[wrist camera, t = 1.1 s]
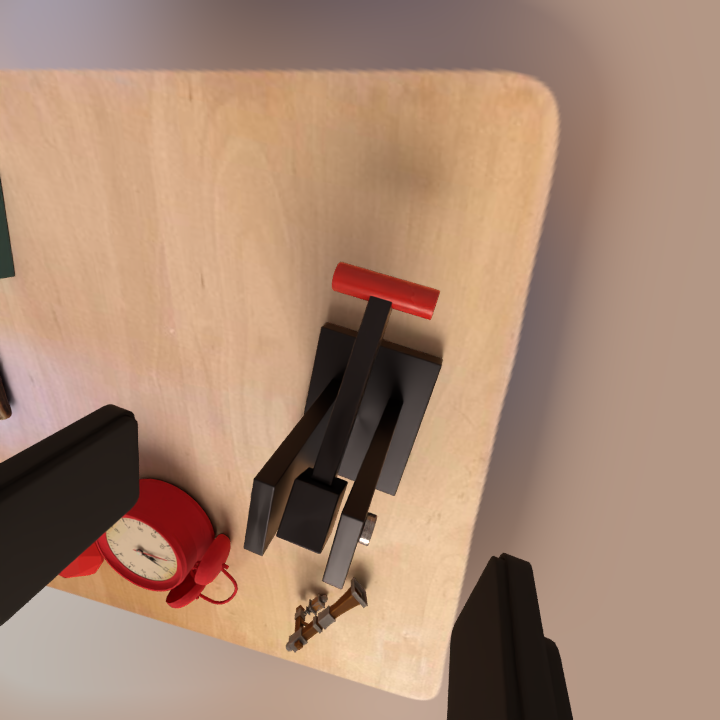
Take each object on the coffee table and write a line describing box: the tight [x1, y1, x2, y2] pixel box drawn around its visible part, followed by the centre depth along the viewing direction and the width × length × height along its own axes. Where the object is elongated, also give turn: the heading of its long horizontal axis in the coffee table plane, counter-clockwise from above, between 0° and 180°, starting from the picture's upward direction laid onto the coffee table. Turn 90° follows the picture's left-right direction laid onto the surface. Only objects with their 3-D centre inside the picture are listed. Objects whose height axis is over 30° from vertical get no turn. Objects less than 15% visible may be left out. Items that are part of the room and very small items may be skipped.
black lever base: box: [244, 322, 443, 589], centre depth 22 cm, size 11×8×12 cm
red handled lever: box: [276, 262, 440, 554], centre depth 19 cm, size 13×5×2 cm, turn 166°
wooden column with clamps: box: [286, 577, 368, 652], centre depth 34 cm, size 2×8×4 cm, turn 128°
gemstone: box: [59, 541, 104, 578], centre depth 41 cm, size 9×9×3 cm
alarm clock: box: [96, 479, 238, 608], centre depth 36 cm, size 10×6×15 cm
